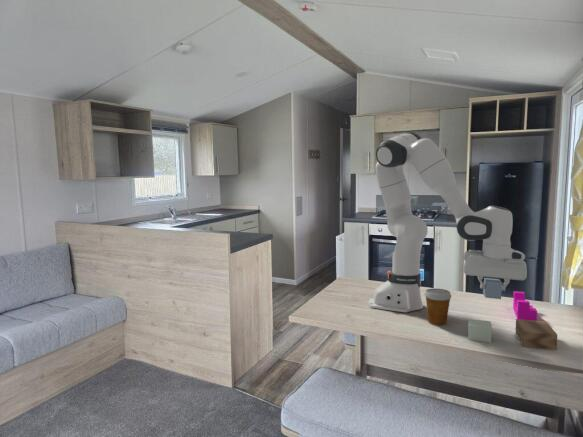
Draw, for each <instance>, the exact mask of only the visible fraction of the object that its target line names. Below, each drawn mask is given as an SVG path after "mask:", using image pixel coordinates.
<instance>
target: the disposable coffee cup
mask: <svg viewBox="0 0 583 437" xmlns="http://www.w3.org/2000/svg"><path fill="white" fill-rule="evenodd" d="M424 296H425V301H426V311H427V319H428V323H429V324H431V325H434V326H446V325H447V322H448V321H447V320H448V315H449V308H450V303H451V299H452V294H451V292H450V290H447V289H444V288H433V287H432V288H427V289H425V293H424Z"/></svg>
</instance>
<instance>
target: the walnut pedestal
mask: <svg viewBox="0 0 583 437" xmlns="http://www.w3.org/2000/svg"><path fill="white" fill-rule="evenodd" d="M515 335H516V336H517V338H518V339H519V341H520V343H521V344H522V346H523V347H525V348H530V349H531V348H532V349H533V348H534V349H543V350H553V351H557V350H558V348H557V346H558V334H557V332H556V331H555V330H554V329H553V328H552V327H551V325H550V324H549V323H548V322H547V321H545V320H543V321H542V320H537V321H534V320H521V319H517V318H516V319H515Z"/></svg>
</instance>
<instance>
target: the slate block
mask: <svg viewBox="0 0 583 437" xmlns="http://www.w3.org/2000/svg"><path fill="white" fill-rule="evenodd" d="M483 279H484V280H483V283H485V284H486V286H485V287H486V288H485V289H482V294H483V296H484V298H487V299H495V300H502V292H503V291H502V285H503V282H502V280H501V278H492V277H483Z"/></svg>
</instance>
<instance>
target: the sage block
mask: <svg viewBox="0 0 583 437" xmlns="http://www.w3.org/2000/svg"><path fill="white" fill-rule="evenodd" d="M467 323H468V324H467V339H468V341H470V340H471V341H475V342H476V341H477V342H484V343H485V342H487V343H493V342H492V339H493V338H492V335H493V327H492V323H491V321H490V320H484V319H483V320H482V319H481V320H480V319H473V318H468V320H467Z"/></svg>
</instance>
